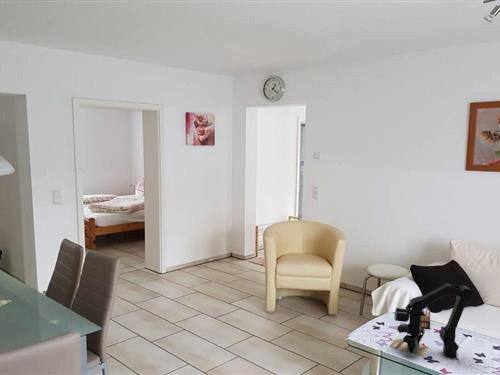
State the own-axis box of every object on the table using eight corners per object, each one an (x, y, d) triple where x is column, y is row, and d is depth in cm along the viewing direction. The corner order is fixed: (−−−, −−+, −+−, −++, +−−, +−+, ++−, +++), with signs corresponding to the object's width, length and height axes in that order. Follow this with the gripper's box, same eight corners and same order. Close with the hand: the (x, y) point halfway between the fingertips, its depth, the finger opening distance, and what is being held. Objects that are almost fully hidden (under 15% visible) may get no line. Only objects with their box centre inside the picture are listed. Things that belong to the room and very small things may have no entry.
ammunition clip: (429, 328, 255) (430, 309, 254) (430, 329, 253) (431, 310, 252) (411, 326, 256) (412, 308, 255) (412, 328, 255) (413, 309, 254)
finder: (419, 351, 222) (419, 342, 221) (416, 354, 218) (417, 346, 217) (409, 348, 225) (410, 340, 224) (406, 351, 221) (407, 343, 220)
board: (429, 349, 226) (430, 347, 226) (422, 359, 215) (423, 357, 215) (396, 339, 237) (397, 337, 237) (388, 348, 226) (388, 346, 226)
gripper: (405, 313, 232) (403, 340, 233) (394, 323, 217) (392, 352, 219) (425, 318, 225) (423, 346, 227) (416, 329, 211) (414, 358, 212)
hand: (413, 350), depth 221 cm, fingers open, 8 cm apart
